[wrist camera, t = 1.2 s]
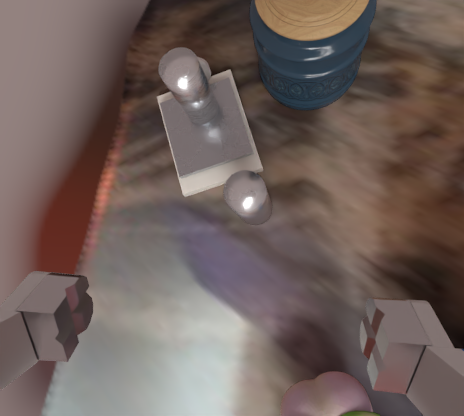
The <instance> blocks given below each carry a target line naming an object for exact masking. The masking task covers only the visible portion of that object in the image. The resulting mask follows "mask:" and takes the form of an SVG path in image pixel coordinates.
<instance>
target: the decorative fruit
mask: <svg viewBox="0 0 464 416" xmlns="http://www.w3.org/2000/svg"><path fill="white" fill-rule="evenodd" d="M281 416H380V415H379V414H377V413H374V412H373V409H372V406H371V402H370V399H369V397H368V394H367V392H366V390H365V389H364V387H363V386H362V385H361V383H360V382H359V381H358V380H357V379H355V378H354V377H353V376H351V375H349V374H347V373H343V372H337V371H331V372H326V373H322V374H320V375H319V376H318V377H316V378H315V379H306V380H302V381H300V382H298V383H296V384H294V385H293V386H292V387H290V388H289V389H288V390H287V392H286V393H285V395H284V397H283V399H282V403H281Z"/></svg>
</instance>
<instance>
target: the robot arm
mask: <svg viewBox="0 0 464 416" xmlns="http://www.w3.org/2000/svg"><path fill="white" fill-rule="evenodd" d="M88 287H89V284H88V280H87V277H85V276H82V275H72V274H62V273H53V272H52V273H48V272H39V271H35V272H32V273H30V274H29V275H28V276H27V277H26V278H25V279H24V280H23V282H22V283H21V284H20V285H19V286H18V287H17V288H16V289H15V290H14V291H13V292H12V293H11V295H10V296H9V297H8V298H7V299H6V300H5V301H4V302H3V303H2V305H1V306H0V391H1V390H2V389H3V388H5V387H6V386H7V385H8V384H10V383H11V382H12V381H14V380H15V379H16V378H17V377H19V376H20V375H21V374H22V373H24V372H25V371H26V370H27V369H29V368H30V367H31V366H33V365H34V364H35V363H37V362H38V360H49V361H64V362H68V360H69V358H70V357H71V355H72V353H73V352H74V350H75V348H76V346H77V345H78V343H79V341H78V337H77V335H79V334H80V333H82V332H83V331H85V330H86V329H87V327H88V325H89V323H90V321H91V317H92V314H93V302H92V298H91V297H90V296H89V295H88V294H87V293H86V290H87V289H88ZM365 308H366V312H367V315H368V316H366V317H365V318H364V319H362V322H361V327H360V343H361V348H362V352H363V354H364V355H365V356H366V357H367V358H368V359H369V362H368V365H367V370H368V374H369V377H370V381H371V384H372V388H373V390H376V391H385V392H393V393H401V394H407V395H406V396H407V397H408V398H409V400H410V401H411V402H412V403H413V404H414V405H415V406H416V408H417V409H418V410H419V411H420V412H421V413H422V414H423V416H464V351H463V350H462V349H457V348H454V346H453V344H452V343H451V341H450V339H449V337H448V335H447V334H446V332H445V330H444V328H443V327H442V325H441V323H440V321H439V319H438V318H437V316H436V314H435V312H434V311H433V309H432V307H431V305H430V304H429V303H428V302H427V301H423V300H401V299H387V298H372V297H370V298H369V299H368V301H367V304H366V307H365Z"/></svg>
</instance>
